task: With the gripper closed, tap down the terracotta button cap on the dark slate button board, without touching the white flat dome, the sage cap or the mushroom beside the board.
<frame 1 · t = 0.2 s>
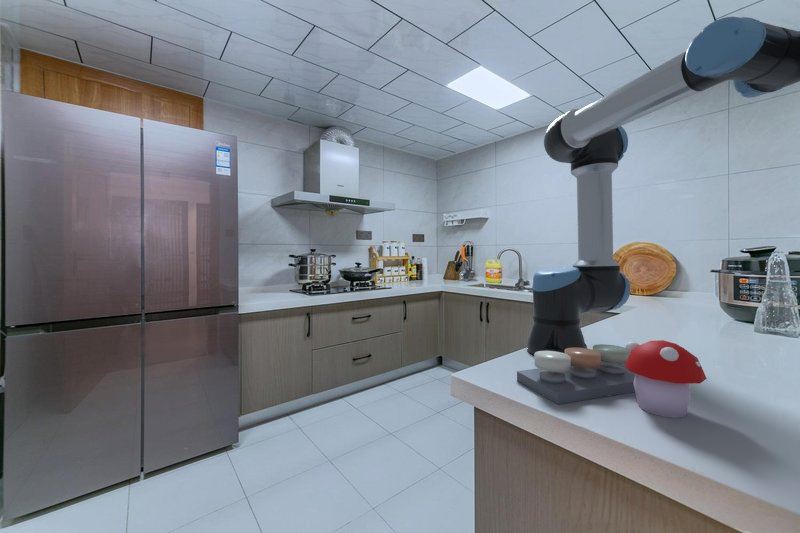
button board: (582, 384, 67), on the table
terracotta cap: (582, 357, 66), point 6 cm above the table, slide at 0.0 cm
mushroom: (662, 409, 55), on the table
sage cap: (610, 353, 68), point 6 cm above the table, slide at 0.0 cm
white flat dome: (552, 360, 64), point 6 cm above the table, slide at 0.0 cm
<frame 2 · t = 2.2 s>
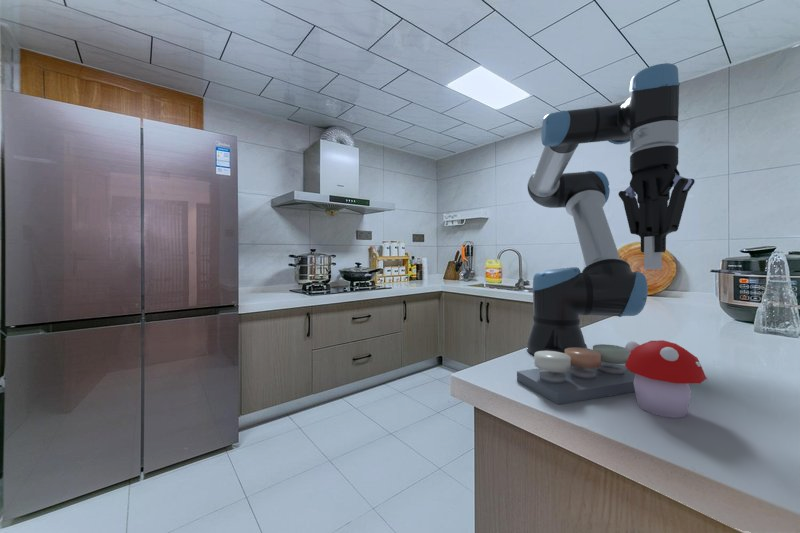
hand: (652, 268, 64), 24 cm above the table, fingers closed
nothing on the table moved.
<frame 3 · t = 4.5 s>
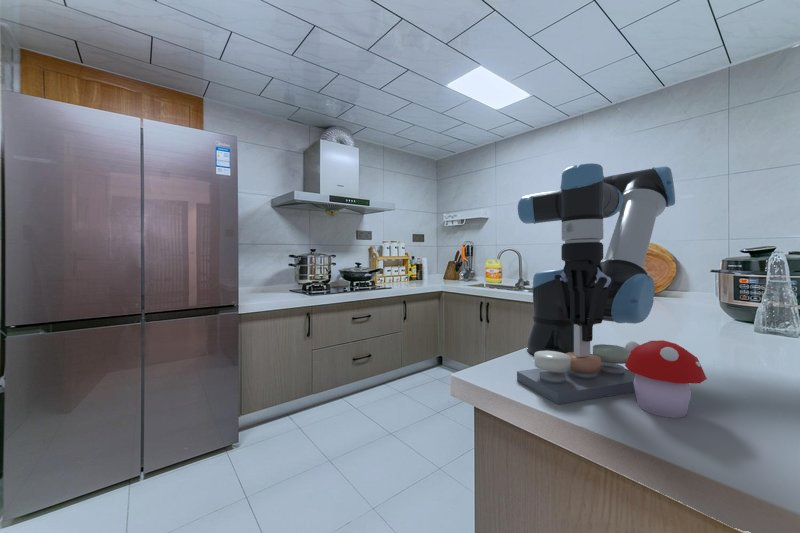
hand: (582, 355, 66), 6 cm above the table, fingers closed
terracotta cap: (582, 361, 66), point 5 cm above the table, slide at 1.0 cm, touching gripper
everything else where it was.
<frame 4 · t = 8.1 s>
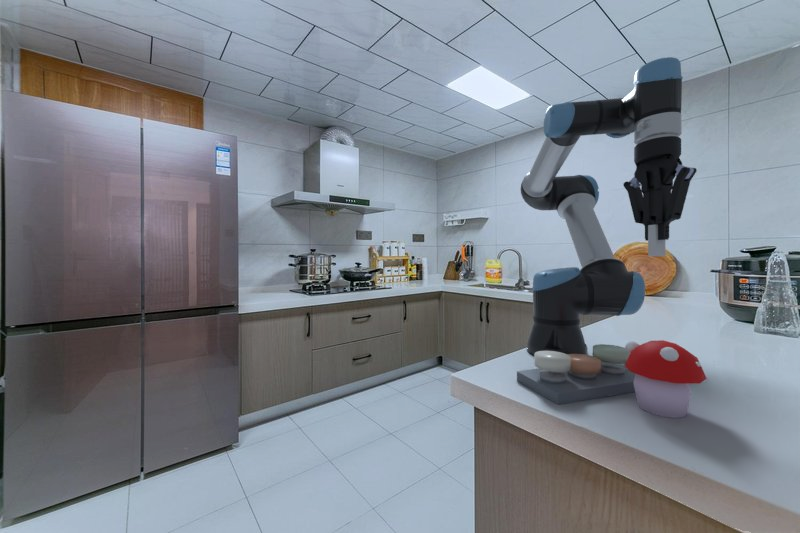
hand: (656, 256, 66), 26 cm above the table, fingers closed
terracotta cap: (582, 363, 66), point 4 cm above the table, slide at 1.4 cm
everything else where it was.
at the end: terracotta cap slide at 1.4 cm; white flat dome slide at 0.0 cm; sage cap slide at 0.0 cm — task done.
